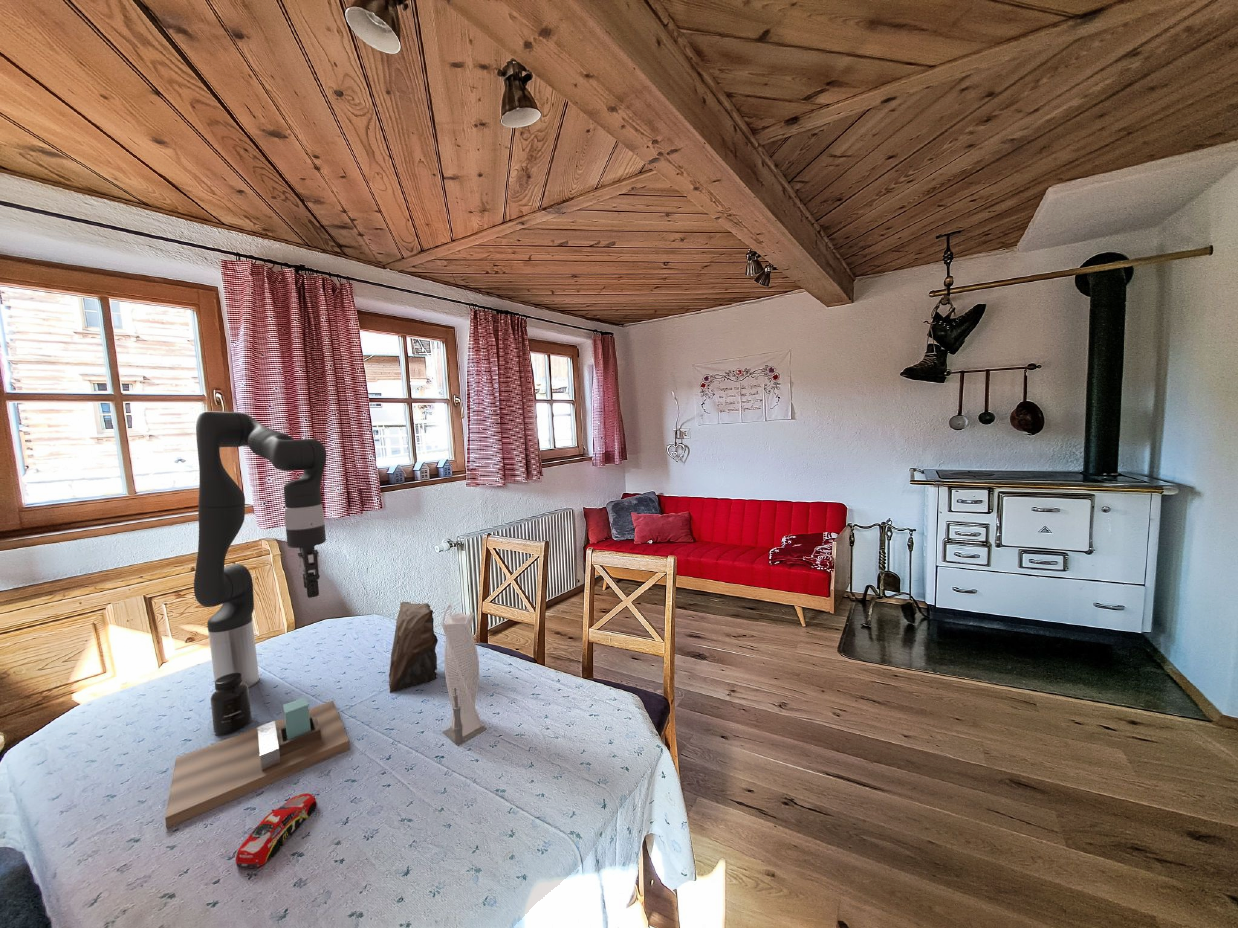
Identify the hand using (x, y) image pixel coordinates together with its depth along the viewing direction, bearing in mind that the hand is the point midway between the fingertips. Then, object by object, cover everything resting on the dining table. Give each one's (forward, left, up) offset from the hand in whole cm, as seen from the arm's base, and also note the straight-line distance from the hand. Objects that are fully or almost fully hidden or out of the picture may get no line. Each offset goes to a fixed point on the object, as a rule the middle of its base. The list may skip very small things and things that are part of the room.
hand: (311, 591), depth 108 cm
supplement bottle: (-10, -17, -31) cm, 36 cm away
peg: (+11, -6, -29) cm, 31 cm away
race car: (+35, -11, -31) cm, 48 cm away
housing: (+9, -12, -31) cm, 34 cm away
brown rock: (-1, +20, -31) cm, 37 cm away
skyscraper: (+30, +23, -31) cm, 49 cm away
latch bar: (+11, -11, -28) cm, 32 cm away
